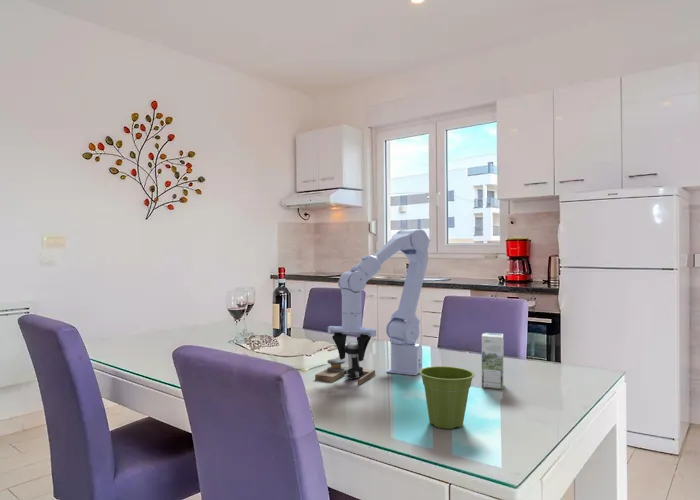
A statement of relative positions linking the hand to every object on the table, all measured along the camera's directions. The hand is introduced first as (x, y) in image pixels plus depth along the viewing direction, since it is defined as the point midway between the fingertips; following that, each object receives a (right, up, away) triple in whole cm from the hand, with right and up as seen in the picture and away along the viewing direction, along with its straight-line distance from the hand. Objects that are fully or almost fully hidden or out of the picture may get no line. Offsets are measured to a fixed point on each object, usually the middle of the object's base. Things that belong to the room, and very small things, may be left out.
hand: (351, 359), depth 144 cm
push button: (0, -6, +1) cm, 6 cm away
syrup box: (+39, -6, -7) cm, 40 cm away
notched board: (-2, -6, +2) cm, 7 cm away
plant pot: (+21, -6, -36) cm, 42 cm away
